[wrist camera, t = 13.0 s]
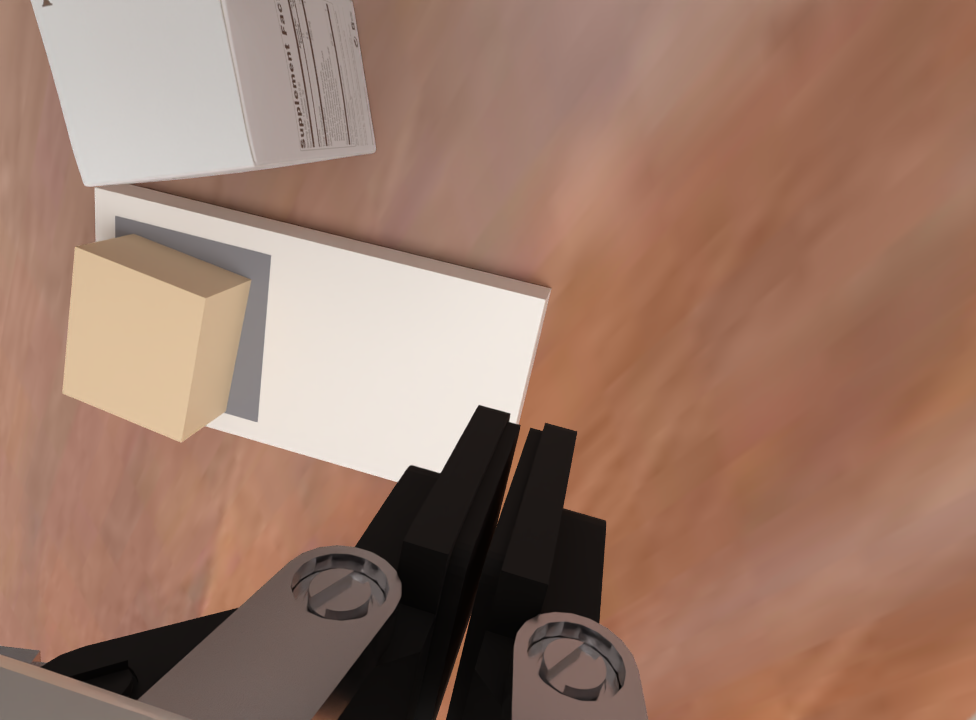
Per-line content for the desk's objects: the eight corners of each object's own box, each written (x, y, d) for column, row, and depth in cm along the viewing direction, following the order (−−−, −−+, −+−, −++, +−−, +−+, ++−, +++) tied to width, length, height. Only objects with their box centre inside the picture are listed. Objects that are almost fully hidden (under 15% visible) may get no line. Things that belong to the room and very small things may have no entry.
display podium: (127, 183, 46) (94, 187, 44) (551, 288, 43) (545, 300, 40) (126, 380, 52) (97, 395, 49) (503, 488, 48) (495, 510, 45)
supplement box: (250, 170, 44) (75, 191, 30) (219, 19, 41) (11, -33, 28) (380, 156, 42) (256, 172, 28) (357, -4, 39) (206, -72, 26)
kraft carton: (134, 233, 44) (75, 246, 39) (251, 279, 43) (205, 298, 39) (117, 367, 48) (62, 393, 43) (225, 411, 47) (181, 442, 42)
